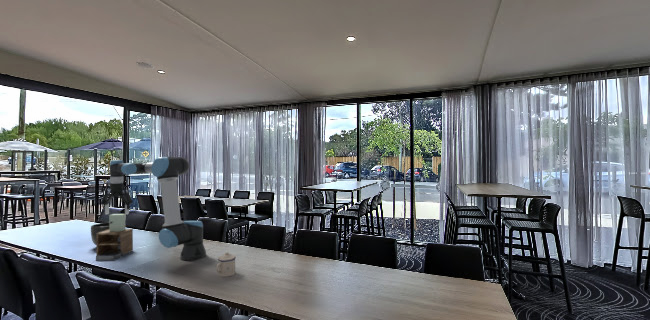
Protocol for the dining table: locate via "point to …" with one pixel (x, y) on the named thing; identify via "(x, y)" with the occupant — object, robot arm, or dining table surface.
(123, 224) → the pale green block
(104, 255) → the grey drawer
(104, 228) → the planter
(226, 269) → the teacup with lid
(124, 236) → the wood-grain box
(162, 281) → the dining table surface
